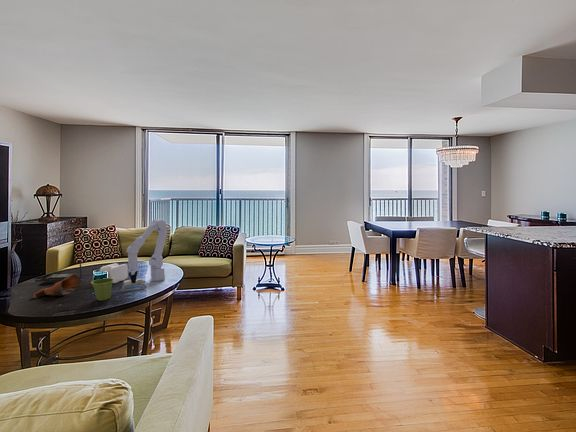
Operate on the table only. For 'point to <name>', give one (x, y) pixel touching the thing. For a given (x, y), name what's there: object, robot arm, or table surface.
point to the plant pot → (103, 288)
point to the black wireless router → (61, 276)
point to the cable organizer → (116, 271)
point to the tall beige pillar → (128, 282)
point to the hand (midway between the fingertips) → (133, 282)
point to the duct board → (133, 287)
